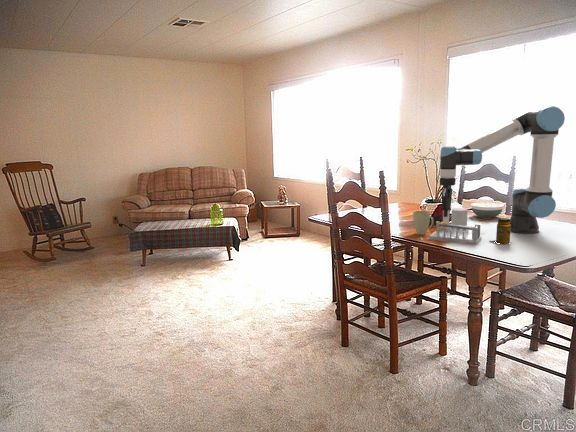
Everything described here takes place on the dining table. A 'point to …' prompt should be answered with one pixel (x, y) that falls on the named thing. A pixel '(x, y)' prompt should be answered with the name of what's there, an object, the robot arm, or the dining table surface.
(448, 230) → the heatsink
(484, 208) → the bowl
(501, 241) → the condiment
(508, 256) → the dining table surface
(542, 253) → the dining table surface
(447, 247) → the dining table surface
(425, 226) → the mug
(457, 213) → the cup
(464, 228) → the grey bar
